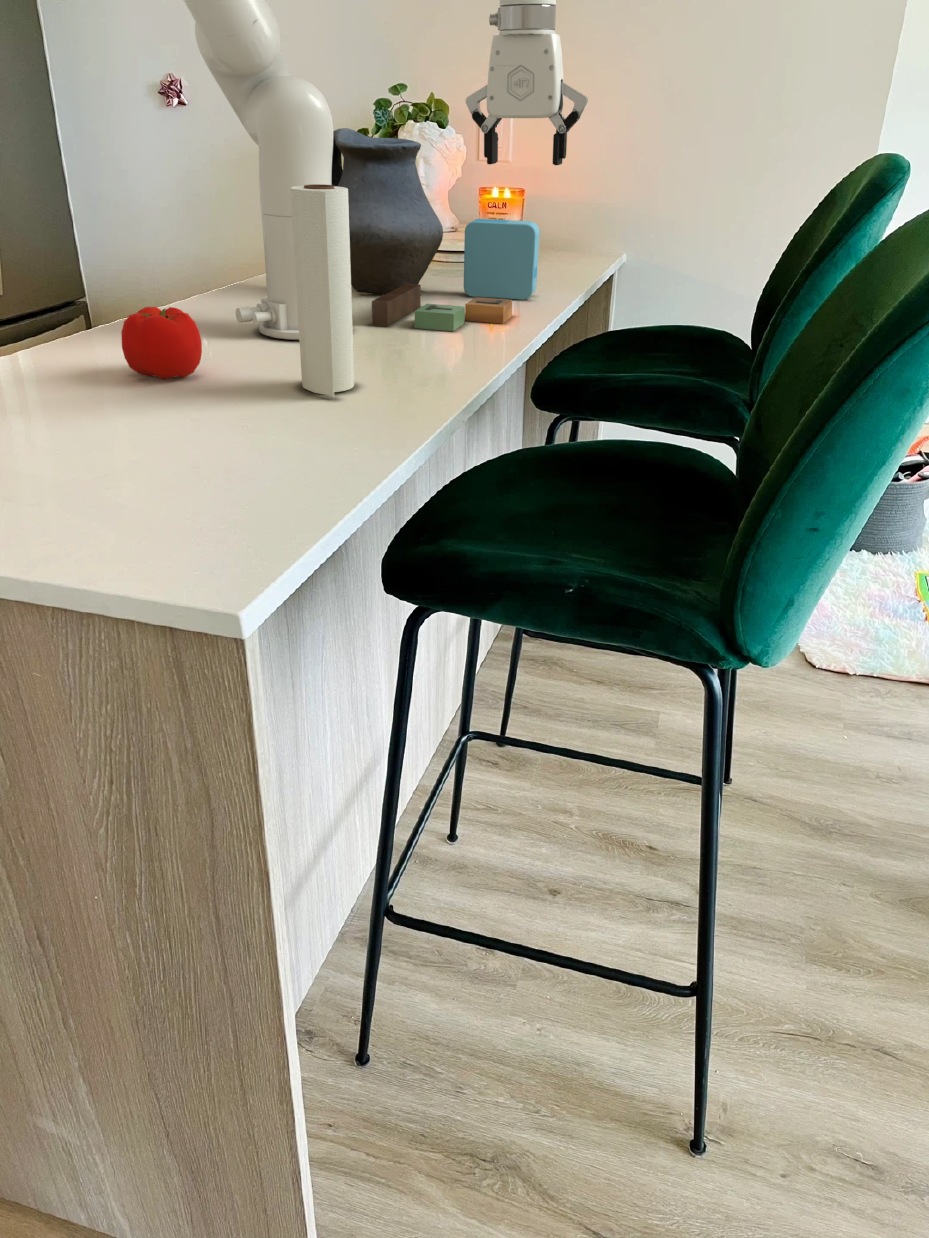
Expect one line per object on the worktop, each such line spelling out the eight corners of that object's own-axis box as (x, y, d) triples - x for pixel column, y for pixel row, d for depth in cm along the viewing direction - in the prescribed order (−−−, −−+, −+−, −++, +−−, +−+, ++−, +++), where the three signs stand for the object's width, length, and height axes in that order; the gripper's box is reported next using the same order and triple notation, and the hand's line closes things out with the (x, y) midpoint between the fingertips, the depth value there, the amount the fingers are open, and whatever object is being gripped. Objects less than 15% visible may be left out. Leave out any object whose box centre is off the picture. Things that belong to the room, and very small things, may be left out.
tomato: (167, 389, 107) (159, 321, 104) (111, 377, 111) (101, 312, 108) (223, 372, 115) (217, 308, 111) (169, 361, 118) (161, 299, 115)
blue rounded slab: (536, 296, 164) (540, 221, 158) (532, 300, 160) (536, 224, 154) (468, 292, 166) (470, 218, 160) (462, 296, 162) (464, 221, 156)
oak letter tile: (503, 324, 143) (503, 306, 142) (464, 320, 144) (465, 303, 143) (511, 316, 148) (512, 299, 147) (474, 313, 150) (475, 296, 148)
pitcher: (396, 306, 153) (394, 133, 141) (293, 291, 163) (283, 128, 151) (463, 288, 168) (466, 131, 156) (365, 275, 178) (361, 127, 166)
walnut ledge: (387, 326, 139) (387, 302, 138) (372, 325, 140) (371, 301, 138) (420, 307, 153) (420, 284, 151) (406, 306, 153) (406, 283, 152)
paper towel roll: (318, 378, 113) (308, 182, 103) (363, 384, 111) (357, 185, 101) (286, 393, 107) (273, 186, 97) (334, 399, 105) (325, 190, 95)
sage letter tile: (453, 331, 138) (453, 313, 136) (414, 328, 139) (414, 310, 138) (464, 323, 143) (465, 305, 141) (426, 320, 144) (426, 302, 143)
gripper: (457, 23, 126) (459, 165, 134) (585, 20, 121) (578, 167, 130) (474, 26, 132) (475, 161, 141) (596, 22, 127) (589, 163, 136)
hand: (524, 164), depth 135 cm, fingers open, 9 cm apart
